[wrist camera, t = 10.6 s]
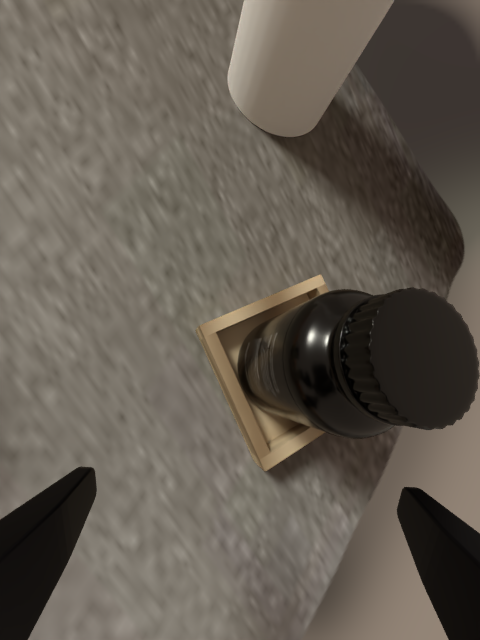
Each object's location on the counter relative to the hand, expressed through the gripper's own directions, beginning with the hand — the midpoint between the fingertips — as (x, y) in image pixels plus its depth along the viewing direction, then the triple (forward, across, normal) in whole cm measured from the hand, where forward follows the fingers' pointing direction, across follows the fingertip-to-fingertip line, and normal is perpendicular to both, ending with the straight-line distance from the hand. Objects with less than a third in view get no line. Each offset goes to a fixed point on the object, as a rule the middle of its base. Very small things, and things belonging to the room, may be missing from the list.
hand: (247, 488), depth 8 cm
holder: (+13, -3, +2) cm, 14 cm away
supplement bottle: (+13, -3, +2) cm, 13 cm away
